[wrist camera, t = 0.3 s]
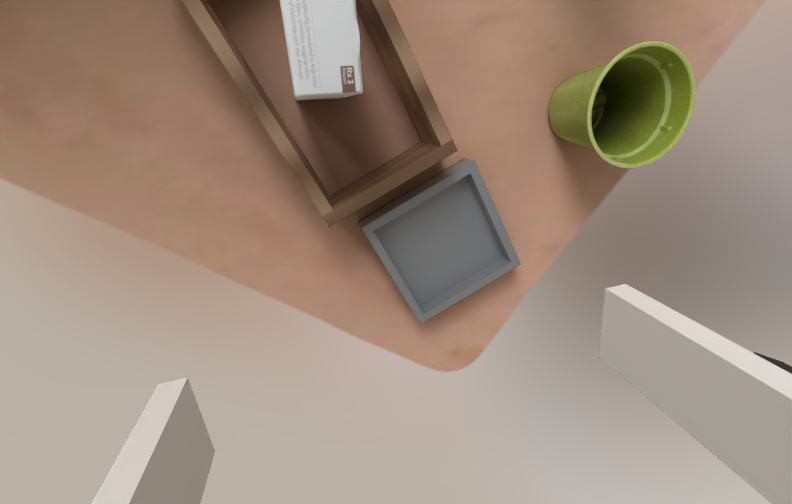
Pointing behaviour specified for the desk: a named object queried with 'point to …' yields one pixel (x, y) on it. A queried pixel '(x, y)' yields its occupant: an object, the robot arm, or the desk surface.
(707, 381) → the robot arm
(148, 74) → the desk surface
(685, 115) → the plant pot
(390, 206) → the charcoal tray
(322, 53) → the skincare box
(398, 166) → the walnut box
